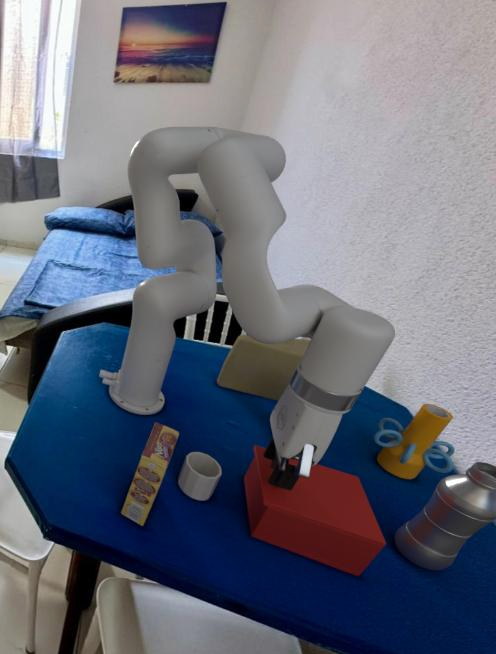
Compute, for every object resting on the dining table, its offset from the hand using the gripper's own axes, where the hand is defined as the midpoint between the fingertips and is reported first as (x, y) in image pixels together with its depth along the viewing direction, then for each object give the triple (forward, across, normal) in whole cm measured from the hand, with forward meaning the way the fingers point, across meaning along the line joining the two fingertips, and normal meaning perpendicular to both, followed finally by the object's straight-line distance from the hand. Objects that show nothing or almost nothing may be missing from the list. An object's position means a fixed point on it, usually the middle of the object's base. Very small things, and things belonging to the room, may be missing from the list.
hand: (276, 471), depth 68 cm
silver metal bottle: (+10, -2, +23) cm, 25 cm away
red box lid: (+2, 0, +6) cm, 6 cm away
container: (+10, 0, -10) cm, 14 cm away
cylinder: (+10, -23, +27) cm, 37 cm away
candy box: (+10, +8, -19) cm, 23 cm away
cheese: (+10, -37, +6) cm, 39 cm away
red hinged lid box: (+10, 0, +6) cm, 11 cm away
